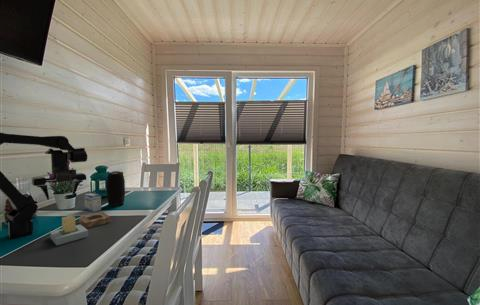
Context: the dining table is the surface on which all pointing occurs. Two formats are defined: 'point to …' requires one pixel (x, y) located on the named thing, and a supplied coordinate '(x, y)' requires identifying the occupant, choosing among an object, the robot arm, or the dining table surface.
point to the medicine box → (92, 202)
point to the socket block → (68, 235)
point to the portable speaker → (115, 188)
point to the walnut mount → (94, 220)
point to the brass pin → (68, 225)
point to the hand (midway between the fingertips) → (61, 197)
